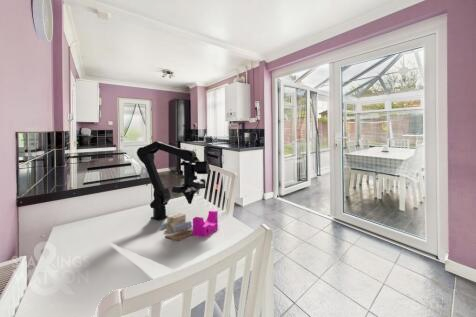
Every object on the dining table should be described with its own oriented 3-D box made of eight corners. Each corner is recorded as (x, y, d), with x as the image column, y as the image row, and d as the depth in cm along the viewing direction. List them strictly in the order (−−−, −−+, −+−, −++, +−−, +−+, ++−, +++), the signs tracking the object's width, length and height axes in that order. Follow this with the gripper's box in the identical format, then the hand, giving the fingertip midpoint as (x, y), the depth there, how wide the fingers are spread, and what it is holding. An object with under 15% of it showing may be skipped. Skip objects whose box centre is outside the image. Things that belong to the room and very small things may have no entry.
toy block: (204, 237, 90) (204, 220, 90) (192, 235, 93) (192, 218, 93) (222, 226, 104) (221, 211, 104) (211, 225, 106) (211, 210, 106)
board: (165, 237, 91) (165, 235, 91) (182, 230, 99) (182, 228, 99) (177, 241, 86) (177, 239, 86) (195, 233, 94) (195, 232, 94)
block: (167, 229, 101) (167, 216, 101) (178, 224, 107) (178, 213, 107) (174, 230, 98) (174, 218, 98) (185, 226, 104) (185, 214, 104)
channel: (161, 228, 101) (161, 223, 101) (177, 223, 110) (177, 218, 110) (175, 232, 96) (175, 227, 96) (191, 226, 104) (191, 221, 104)
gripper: (186, 176, 98) (187, 209, 98) (212, 173, 113) (213, 202, 113) (171, 175, 104) (171, 206, 104) (197, 172, 119) (198, 200, 120)
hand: (189, 203), depth 110 cm, fingers closed
